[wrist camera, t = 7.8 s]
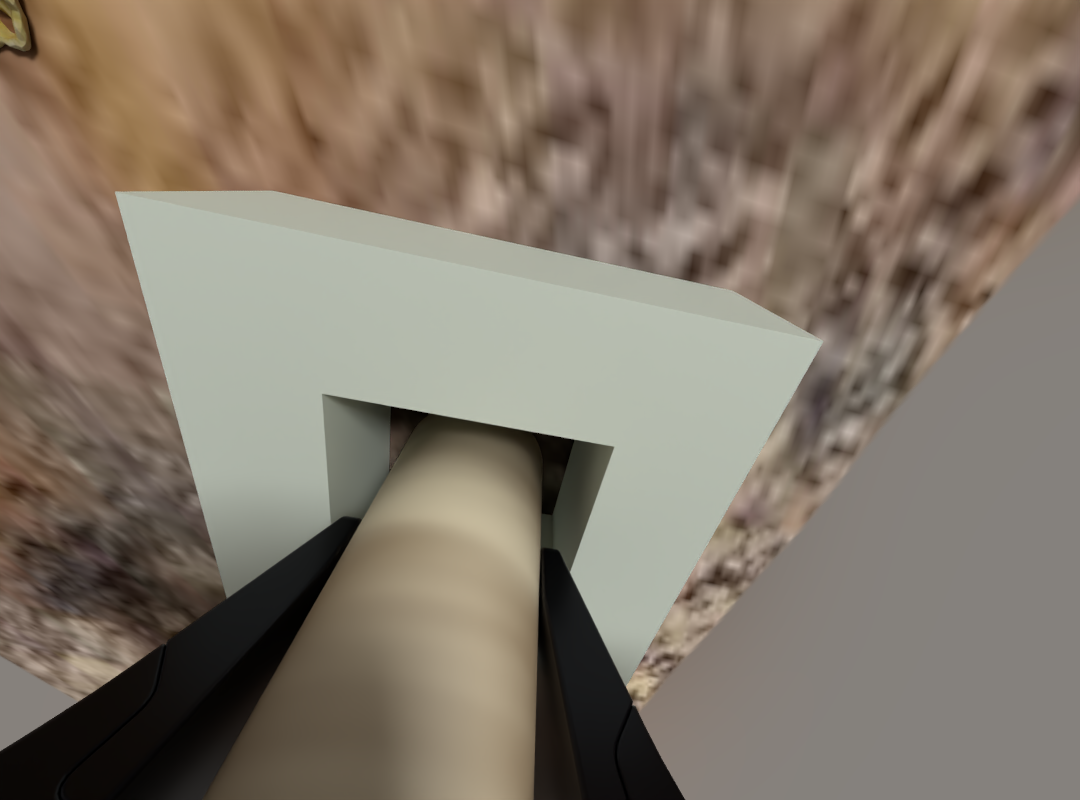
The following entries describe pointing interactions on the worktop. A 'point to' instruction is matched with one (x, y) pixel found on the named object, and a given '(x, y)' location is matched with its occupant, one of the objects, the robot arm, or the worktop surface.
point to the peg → (415, 640)
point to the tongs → (15, 26)
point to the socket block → (453, 381)
